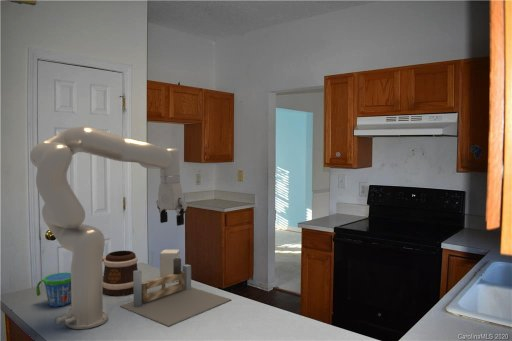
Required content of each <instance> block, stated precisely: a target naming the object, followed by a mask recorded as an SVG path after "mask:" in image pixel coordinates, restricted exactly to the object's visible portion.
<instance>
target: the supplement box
mask: <svg viewBox="0 0 512 341" xmlns="http://www.w3.org/2000/svg"><path fill="white" fill-rule="evenodd" d="M180 251H181V250H180V249H163V250H162V251H161V252H160V253H159V278H160V277H163V276H167V275H170V274H173V259H175V258H180ZM180 259H181V258H180ZM177 281H178V280H176V281H173V282H172V283H176V282H177Z"/></svg>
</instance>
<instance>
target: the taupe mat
mask: <svg viewBox="0 0 512 341" xmlns="http://www.w3.org/2000/svg"><path fill="white" fill-rule="evenodd" d="M231 301H232V298H228V297H225V296H221V295H218V294H215V293H212V292H208V291H205V290H202V289H198V288H195V287H192V286H191V289H189V290H184V289H183V290H180V291H177V292H175V293H172V294H169V295H166V296H163V297H160V298H157V299H154V300H151V301H148V302H145V303H142V306H141V307H134V300H133V301H130V302H127V303H124V304H120V305H119V307H120V308H122V309H124V310H126V311H128V312H132V313H134V314H135V315H139V316H141V317H144V318H146V319H149V320H151V321H153V322H156V323H158V324H161V325H163V326H166V327H168V328H169V327H171V326H174V325H177V324H179V323H181V322H184V321H187V320H188V319H191V318H193V317H195V316H198V315H200V314H203V313H205V312H207V311H210V310H211V309H215V308H217V307H219V306H221V305H224V304H226V303H228V302H231Z"/></svg>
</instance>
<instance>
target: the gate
mask: <svg viewBox="0 0 512 341" xmlns="http://www.w3.org/2000/svg"><path fill="white" fill-rule="evenodd" d="M176 280H177V281H178V283H175V284H173V285H170V286H166V285H167V284H169V283H174V282H173V281H176ZM177 281H176V282H177ZM160 286H161V288H160V289H157V290H154V291H151V292H148V290H150V289H153V288H156V287H160ZM183 289H184V272H183V270H182V258H175V259H173V274H170V275H167V276H163V277H160V276H159V277H157V278H154V279H150V280H146V281H144V282H142V303H145V302H148V301H151V300H154V299H157V298H160V297H163V296H166V295H169V294H172V293H175V292H177V291H180V290H183Z"/></svg>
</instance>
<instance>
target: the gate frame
mask: <svg viewBox="0 0 512 341" xmlns="http://www.w3.org/2000/svg"><path fill="white" fill-rule="evenodd" d="M182 271H183V272H184V290H189V289H191V287H192V265H191V264H184V265H182ZM142 283H143V282H142V270H140V269H138V270H135V271H133V284H134V292H133V301H134V307H141V306H142Z"/></svg>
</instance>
